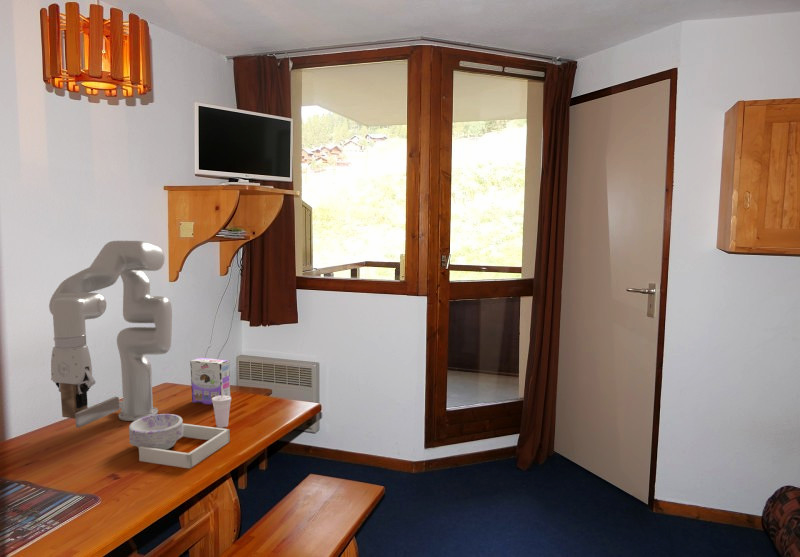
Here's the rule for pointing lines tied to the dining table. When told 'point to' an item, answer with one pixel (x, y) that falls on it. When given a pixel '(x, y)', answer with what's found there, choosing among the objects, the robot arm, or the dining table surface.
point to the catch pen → (188, 460)
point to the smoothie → (221, 409)
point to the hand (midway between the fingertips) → (74, 404)
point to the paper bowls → (156, 431)
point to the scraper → (84, 413)
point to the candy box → (209, 379)
